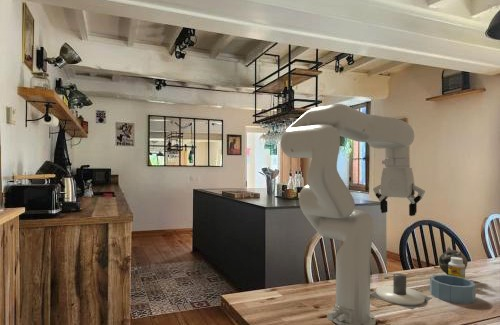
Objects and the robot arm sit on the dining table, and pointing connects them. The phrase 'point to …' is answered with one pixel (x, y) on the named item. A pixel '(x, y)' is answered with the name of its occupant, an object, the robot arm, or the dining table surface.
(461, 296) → the bowl
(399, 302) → the lid
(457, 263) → the supplement bottle
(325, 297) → the dining table surface
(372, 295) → the mat
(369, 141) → the robot arm
